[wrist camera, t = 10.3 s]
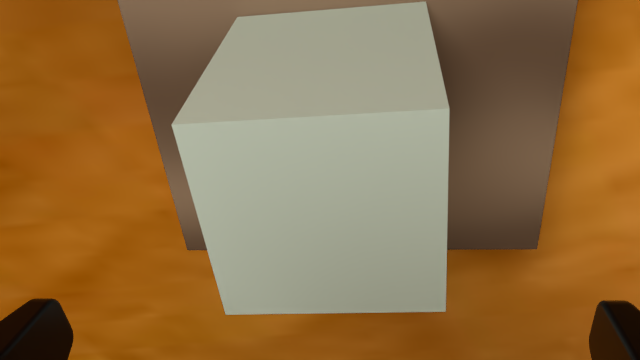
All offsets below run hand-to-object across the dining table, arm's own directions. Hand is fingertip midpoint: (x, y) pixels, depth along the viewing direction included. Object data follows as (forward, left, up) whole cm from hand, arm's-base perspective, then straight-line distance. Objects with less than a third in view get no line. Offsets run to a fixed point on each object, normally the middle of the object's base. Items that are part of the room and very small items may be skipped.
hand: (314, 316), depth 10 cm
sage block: (0, 0, -8) cm, 8 cm away
